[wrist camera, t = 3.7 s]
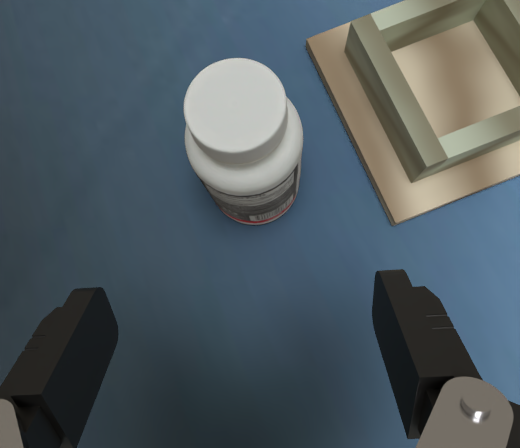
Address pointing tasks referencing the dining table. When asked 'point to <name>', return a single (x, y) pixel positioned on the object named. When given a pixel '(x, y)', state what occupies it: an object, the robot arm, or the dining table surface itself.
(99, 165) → the dining table surface
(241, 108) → the pill bottle
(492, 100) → the holder
